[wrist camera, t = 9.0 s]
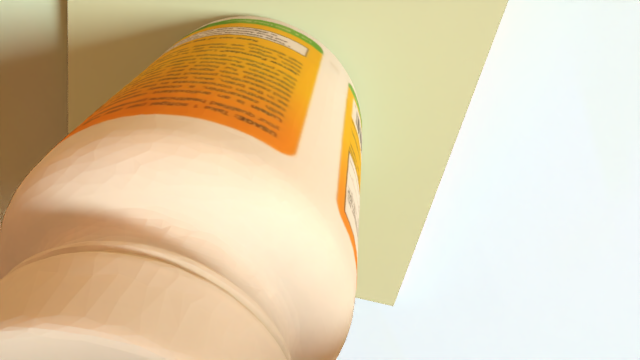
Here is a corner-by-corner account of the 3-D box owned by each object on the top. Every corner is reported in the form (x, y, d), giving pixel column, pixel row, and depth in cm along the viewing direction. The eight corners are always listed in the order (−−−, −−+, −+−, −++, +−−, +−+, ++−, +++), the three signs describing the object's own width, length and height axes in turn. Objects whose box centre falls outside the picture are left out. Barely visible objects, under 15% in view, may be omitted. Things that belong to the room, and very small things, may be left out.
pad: (392, 293, 18) (393, 306, 17) (77, 221, 17) (68, 231, 17) (515, -39, 13) (521, -35, 12) (80, -148, 12) (67, -149, 12)
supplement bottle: (112, 98, 14) (-260, 417, 6) (267, -38, 13) (47, 142, 4) (250, 239, 16) (115, 639, 8) (404, 138, 14) (452, 523, 6)
